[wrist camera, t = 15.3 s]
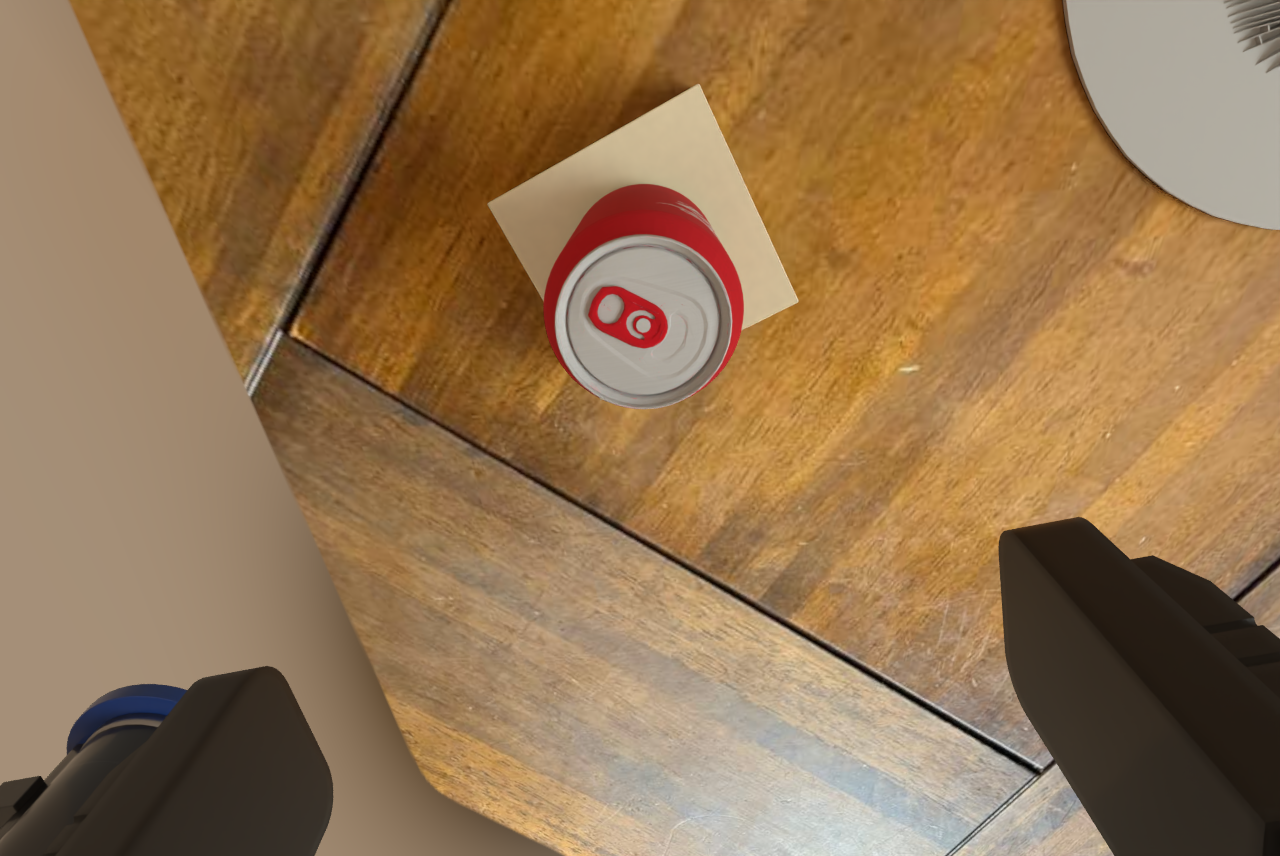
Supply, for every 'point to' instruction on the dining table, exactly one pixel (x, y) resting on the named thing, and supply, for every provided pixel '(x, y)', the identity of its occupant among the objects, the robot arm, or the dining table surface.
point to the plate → (1189, 96)
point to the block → (661, 155)
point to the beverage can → (643, 299)
